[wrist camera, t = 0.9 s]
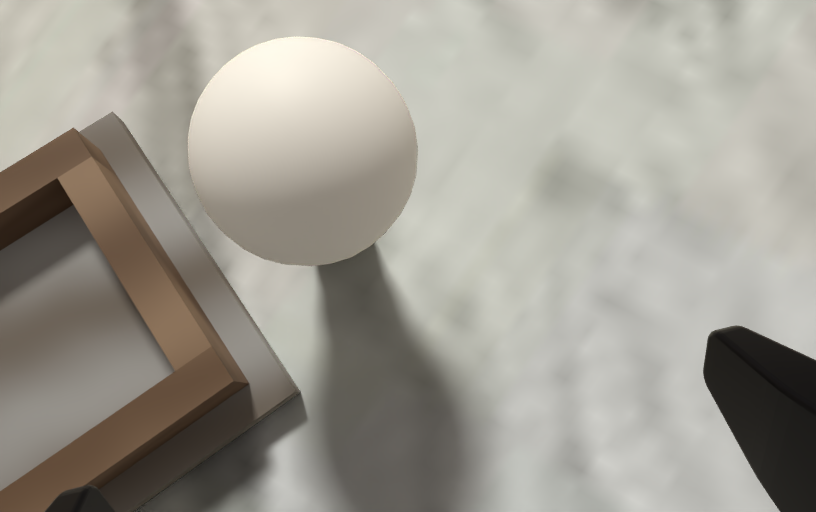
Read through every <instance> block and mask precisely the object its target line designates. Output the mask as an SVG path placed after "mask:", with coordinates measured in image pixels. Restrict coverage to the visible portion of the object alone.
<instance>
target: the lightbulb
mask: <svg viewBox="0 0 816 512" xmlns="http://www.w3.org/2000/svg"><path fill="white" fill-rule="evenodd" d="M417 156H418V146H417V139H416V132H415V126H414V123H413V121H412V118H411V115H410V113H409V110H408V107H407V105H406V103H405V101H404V99H403V98H402V96H401V94H400V93H399V91H398V90H397V88H396V87H395V85H394V83H393V82H392V81H391V80H390V79H389V78H388V77H387V76H386V75H385V74H384V73H383V72H382V71H381V70H380V69H379V68H378V67H377V66H376V65H375V64H374V63H373V62H372V61H371V60H369V59H368V58H366V57H365V56H363V55H362V54H360V53H359V52H357V51H356V50H354V49H351V48H349V47H347V46H344V45H342V44H340V43H337V42H333V41H328V40H324V39H320V38H312V37H287V38H279V39H274V40H270V41H267V42H264V43H261V44H257V45H255V46H253V47H251V48H249V49H247V50H245V51H243V52H241V53H240V54H238V55H237V56H236V57H234V58H233V59H232V60H230V61H229V62H228V63H226V64H225V65H224V66H223V67H222V68H221V69H220V71H219V72H218V73H217V74H216V75H215V76H214V77H213V78H212V79H211V81H210V82H209V83H208V85H207V86H206V88H205V90H204V91H203V93H202V94H201V96H200V98H199V99H198V101H197V104H196V107H195V109H194V112H193V115H192V117H191V122H190V128H189V134H188V158H189V169H190V173H191V177H192V180H193V184H194V187H195V190H196V193H197V195H198V197H199V199H200V201H201V203H202V205H203V207H204V209H205V211H206V213H207V214H208V216H209V217H210V218H211V219H212V220H213V222H214V223H215V224H216V225H217V226H218V228H219V229H220V230H221V231H222V232H223V233H224V234H225V235H226V236H228V237H229V238H230V239H231V240H233V241H234V242H235V243H237V244H238V245H239V246H240V247H242V248H243V249H244V250H246V251H248V252H251V253H253V254H255V255H257V256H259V257H261V258H263V259H266V260H270V261H274V262H277V263H281V264H286V265H302V266H316V265H323V264H331V263H334V262H338V261H341V260H345V259H348V258H351V257H353V256H355V255H356V254H358V253H359V252H361V251H363V250H365V249H366V248H368V247H370V246H371V245H372V244H373V243H374V242H376V241H377V240H378V239H379V238H380V237H382V236H383V235H384V234H385V233H386V232H387V230H388V229H389V228H390V227H391V225H392V224H393V223H394V222H395V220H396V219H397V218H398V217H399V215H400V214H401V213H402V211H403V209H404V207H405V205H406V203H407V201H408V199H409V197H410V195H411V192H412V188H413V185H414V181H415V178H416V171H417Z"/></svg>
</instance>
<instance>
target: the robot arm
mask: <svg viewBox="0 0 816 512" xmlns="http://www.w3.org/2000/svg"><path fill="white" fill-rule="evenodd" d="M703 374H704V379H705V383H706V385H707V387H708V389H709V391H710V393H711V395H712V396H713V398H714V400H715V402H716V404H717V406H718V407H719V409H720V411H721V413H722V415H723V417H724V418H725V420H726V422H727V424H728V426H729V428H730V429H731V431H732V433H733V435H734V437H735V439H736V440H737V442H738V444H739V446H740V448H741V450H742V451H743V453H744V455H745V457H746V459H747V461H748V462H749V464H750V466H751V468H752V469H753V471H754V473H755V474H756V476H757V478H758V479H759V481H760V483H761V484H762V486H763V487H764V489H765V490H766V492H767V493H768V495H769V496H770V498H771V499H772V500H773V502H774V503H775V505H776V506H777V508H778V509H779V511H780V512H816V360H814V359H812V358H810V357H808V356H806V355H804V354H801V353H799V352H797V351H795V350H793V349H791V348H788V347H786V346H784V345H782V344H780V343H778V342H775V341H773V340H771V339H769V338H767V337H765V336H762V335H760V334H758V333H756V332H754V331H752V330H749V329H747V328H745V327H742V326H731V327H727V328H723V329H718V330H715V331H713V332H711V333H710V335H709V336H708V341H707V348H706V355H705V361H704V368H703ZM44 512H115V510H114V509H113V508H112V506H111V505H110V504H109V502H108V501H107V500H106V498H105V497H104V496H103V494H102V493H101V492H100V490H99V489H98V488H97V487H95V486H93V485H86V486H82V487H78V488H73V489H69V490H66V491H64V492H62V493H61V494H59V495H58V496H57V497H56V498H55V499H54V501H53V502H52V503H51V504H50V505H49V507H48V508H47V509H46V510H45V511H44Z"/></svg>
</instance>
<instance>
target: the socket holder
mask: <svg viewBox="0 0 816 512" xmlns="http://www.w3.org/2000/svg"><path fill="white" fill-rule="evenodd" d="M299 393H300V390H299V389H298V387H297V386H296V384H295V383H294V381H293V380H292V378H291V377H290V375H289V374H288V372H287V371H286V369H285V368H284V366H283V365H282V363H281V361H280V360H279V358H278V357H277V355H276V354H275V352H274V351H273V349H272V348H271V346H270V345H269V343H268V342H267V340H266V339H265V337H264V336H263V334H262V332H261V331H260V329H259V328H258V326H257V325H256V323H255V322H254V320H253V319H252V317H251V316H250V314H249V313H248V311H247V310H246V308H245V307H244V305H243V304H242V302H241V300H240V299H239V297H238V296H237V294H236V293H235V291H234V290H233V288H232V287H231V285H230V284H229V282H228V281H227V279H226V278H225V276H224V275H223V273H222V272H221V270H220V268H219V267H218V265H217V264H216V262H215V261H214V259H213V258H212V256H211V255H210V253H209V252H208V250H207V249H206V247H205V246H204V244H203V243H202V241H201V240H200V238H199V236H198V235H197V233H196V232H195V230H194V229H193V227H192V226H191V224H190V223H189V221H188V220H187V218H186V217H185V215H184V214H183V212H182V211H181V209H180V207H179V206H178V204H177V203H176V201H175V200H174V198H173V197H172V195H171V194H170V192H169V191H168V189H167V188H166V186H165V185H164V183H163V182H162V180H161V179H160V177H159V175H158V174H157V172H156V171H155V169H154V168H153V166H152V165H151V163H150V162H149V160H148V159H147V157H146V156H145V154H144V153H143V151H142V150H141V148H140V147H139V145H138V143H137V142H136V140H135V139H134V137H133V136H132V134H131V133H130V131H129V130H128V128H127V127H126V125H125V124H124V122H123V121H122V120H121V119H120V118H119V117H118V116H116V115H115V114H114V113H113V112H111V113H109V114H108V115H106V116H105V117H103V118H101V119H100V120H98V121H96V122H95V123H93V124H92V125H90V126H88V127H87V128H85V129H83V130H82V131H80V132H78V131H77V130H76V129H74V128H72V129H71V130H69V131H67V132H66V133H64V134H62V135H61V136H59V137H57V138H56V139H54V140H53V141H51V142H49V143H48V144H46V145H44V146H43V147H41V148H39V149H38V150H36V151H35V152H33V153H31V154H30V155H28V156H26V157H25V158H23V159H21V160H20V161H18V162H17V163H15V164H13V165H12V166H10V167H8V168H7V169H5V170H3V171H2V172H0V512H44V511H45V510H46V509H47V508H48V507H49V505H50V504H51V503H52V502H53V501H54V499H55V498H56V497H57V496H58V495H59V494H61V493H62V492H64V491H66V490H69V489H73V488H78V487H82V486H86V485H93V486H95V487H97V488H98V489H99V490H100V492H101V493H102V494H103V496H104V497H105V498H106V500H107V501H108V502H109V504H110V505H111V506H112V508H113V509H114V510H115V512H133V511H135V510H136V509H138V508H139V507H140V506H142V505H143V504H145V503H146V502H147V501H149V500H150V499H152V498H153V497H154V496H156V495H157V494H159V493H160V492H161V491H163V490H164V489H166V488H167V487H168V486H170V485H171V484H173V483H174V482H175V481H177V480H178V479H180V478H181V477H182V476H184V475H185V474H187V473H188V472H189V471H191V470H192V469H194V468H195V467H196V466H198V465H199V464H201V463H202V462H203V461H205V460H206V459H208V458H209V457H210V456H212V455H213V454H215V453H216V452H217V451H219V450H220V449H222V448H223V447H225V446H226V445H227V444H229V443H230V442H232V441H233V440H234V439H236V438H237V437H239V436H240V435H241V434H243V433H244V432H246V431H247V430H248V429H250V428H251V427H253V426H254V425H255V424H257V423H258V422H260V421H261V420H262V419H264V418H265V417H267V416H268V415H269V414H271V413H272V412H274V411H275V410H276V409H278V408H279V407H281V406H282V405H283V404H285V403H286V402H288V401H289V400H290V399H292V398H293V397H295V396H296V395H297V394H299Z"/></svg>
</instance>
